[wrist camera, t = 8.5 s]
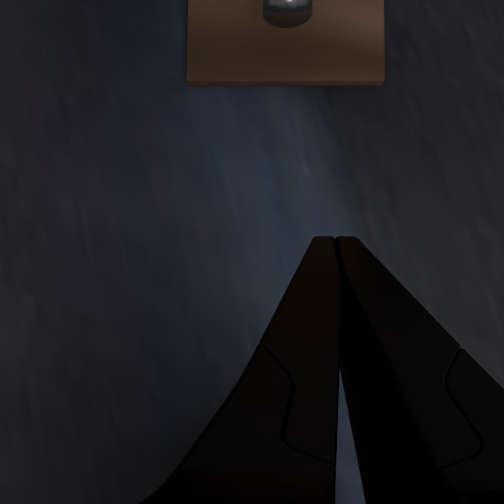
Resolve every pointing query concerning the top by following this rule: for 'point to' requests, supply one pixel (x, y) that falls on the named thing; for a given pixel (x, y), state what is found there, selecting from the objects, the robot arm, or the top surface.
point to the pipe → (287, 12)
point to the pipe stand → (285, 45)
